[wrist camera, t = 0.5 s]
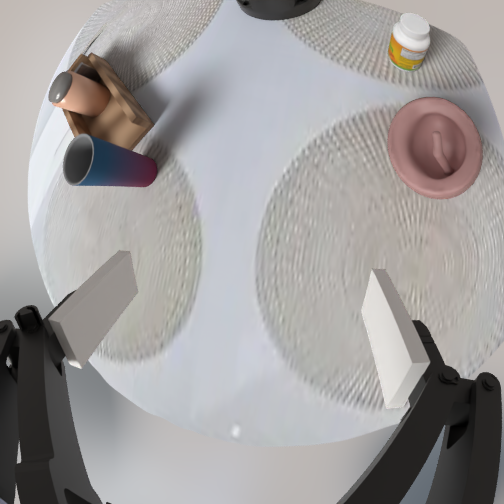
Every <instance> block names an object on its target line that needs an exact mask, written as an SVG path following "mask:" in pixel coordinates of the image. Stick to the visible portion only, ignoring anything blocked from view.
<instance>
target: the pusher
mask: <svg viewBox="0 0 504 504" xmlns="http://www.w3.org/2000/svg"><path fill="white" fill-rule="evenodd" d="M66 72H68V70H67V71H66ZM74 72H75V73H77V74H79V75H82V76H84V77H86V78H89V79H91V80H93V81H95V82H98V83H99V82H100V81H101V80H102V78H101V77H100V75H99V74H98V72H97V71H96V69H95V68H92V67H90V66H88V65H86V64H84V63H82V62H81V63H80V64H79V65H78V67H77V68H76V69H75V71H74Z"/></svg>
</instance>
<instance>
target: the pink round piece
mask: <svg viewBox="0 0 504 504" xmlns="http://www.w3.org/2000/svg"><path fill="white" fill-rule="evenodd" d="M387 143H388V152H389V156H390V160H391V163H392V165H393V167H394V169H395V171H396V173H397V174H398V176H399V177H400V178H401V180H402V181H403V182H404V183H405V184H406V185H407V186H408V187H410V188H411V189H412V190H414V191H415V192H417V193H419V194H421V195H423V196H426V197H429V198H433V199H449V198H453V197H456V196H458V195H460V194H462V193H464V192H465V191H466V190H467V189H469V188H470V186H471V185H472V184H473V183H474V182H475V180H476V178H477V177H478V175H479V172H480V169H481V165H482V159H483V150H482V143H481V139H480V135H479V133H478V130H477V128H476V126H475V125H474V123H473V121H472V120H471V119H470V117H469V116H468V115H467V114H466V112H465V111H464V110H462V109H461V108H460V107H458V106H457V105H456V104H454V103H452V102H450V101H448V100H445V99H443V98H438V97H424V98H419V99H416V100H413V101H411V102H409V103H407V104H406V105H405V106H403V107H402V108H401V109H400V110H399V111H398V112H397V114H396V115H395V117H394V118H393V120H392V122H391V125H390V128H389V132H388V141H387Z"/></svg>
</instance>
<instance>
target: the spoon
mask: <svg viewBox="0 0 504 504" xmlns="http://www.w3.org/2000/svg"><path fill="white" fill-rule="evenodd" d="M106 25H107V23H105V24H104V25H103V26H102V27H101V29H100V30H99V31H98V32H97V34H96V35H95V36H94V37H93V38H92V40H91V41H90V42H89V44H88V45H87V46H86V47H85V49H84V50H83V51H82V53H81V54H83V53H84V51H85V50H86V49H87V48H88V46H89V45H90V44H91V43H92V42H93V41H94V40H95V39H96V38H97V37H98V36H99V35H100V33H101V32H102V31H103V30H104V28H105V27H106ZM79 56H80V55H79ZM79 56H78V57H79Z"/></svg>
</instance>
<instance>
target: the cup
mask: <svg viewBox="0 0 504 504" xmlns="http://www.w3.org/2000/svg"><path fill="white" fill-rule="evenodd" d="M63 173H64V177H65V179H66V181H67V182H68V183H69V184H70V185H73V186H127V187H147V186H149V185H150V184H152V182H153V181H154V180H155V178H156V174H157V166H156V163H155V161H154V160H153V159H151V158H149V157H146V156H144V155H141V154H139V153H136V152H133V151H131V150H128V149H126V148H123V147H120V146H118V145H115V144H112V143H110V142H107V141H104V140H102V139H99V138H96V137H94V136H91V135H88V134H79V135H78V136H76V137H75V138H74V139H73V140H72V141H71V143H70V144H69V146H68V148H67V150H66V153H65V156H64V161H63Z"/></svg>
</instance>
